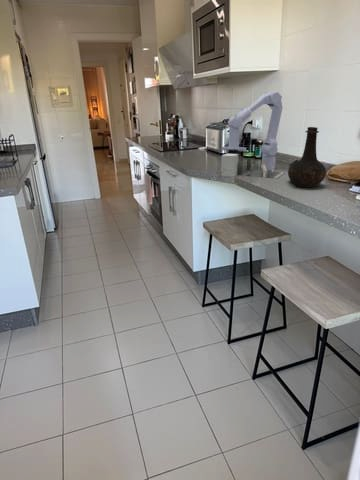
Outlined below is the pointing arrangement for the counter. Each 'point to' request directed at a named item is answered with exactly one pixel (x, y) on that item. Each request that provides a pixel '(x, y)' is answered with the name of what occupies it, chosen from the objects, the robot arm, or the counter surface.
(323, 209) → the counter surface
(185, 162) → the counter surface
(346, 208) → the counter surface
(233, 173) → the supplement box
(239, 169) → the post left
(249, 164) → the post right
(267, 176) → the panel
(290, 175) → the glass bottle
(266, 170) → the paddle
